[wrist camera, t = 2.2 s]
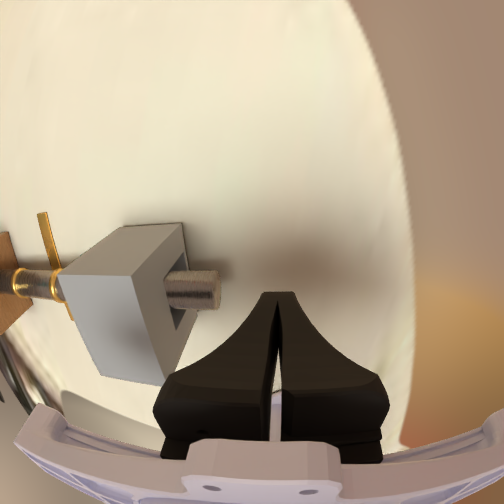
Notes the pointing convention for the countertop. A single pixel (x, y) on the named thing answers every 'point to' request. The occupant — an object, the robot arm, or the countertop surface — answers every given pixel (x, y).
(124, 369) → the sleeve
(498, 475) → the robot arm
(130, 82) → the countertop surface
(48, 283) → the pipe rig
